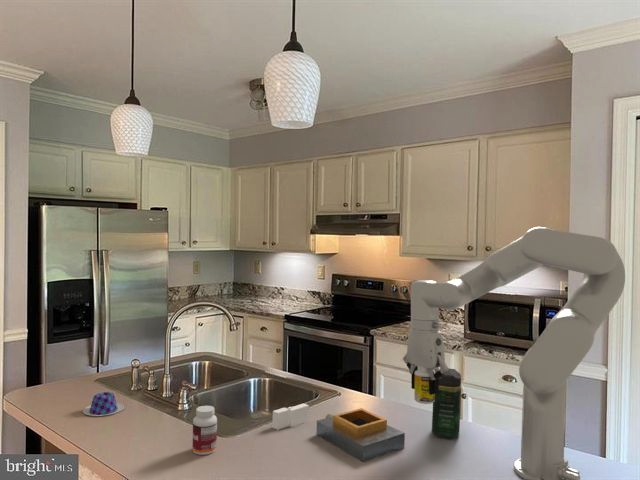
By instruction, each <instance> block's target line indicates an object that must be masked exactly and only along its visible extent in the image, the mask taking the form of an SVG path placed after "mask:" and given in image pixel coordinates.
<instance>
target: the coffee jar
mask: <svg viewBox="0 0 640 480" xmlns="http://www.w3.org/2000/svg"><path fill="white" fill-rule="evenodd" d="M439 370H440V368H439ZM461 401H462V375H461V373H460V372H459V371H457V370H456V369H455V368H450V367H448V371H446V372H445V373H444V374H443V375H442V376H441V378H440V379H439V392H438V393H436V394H435V401H434V402H433V403H432V415H431V417H432V419H431V433H432V434H433V435H434V436H436V437H439V438H441V439H446V440H449V439H457V438H458V437H459V435H460V430H461V429H460V428H461V427H460V426H461V405H462V404H461V403H462V402H461Z"/></svg>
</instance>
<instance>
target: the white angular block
mask: <svg viewBox="0 0 640 480" xmlns="http://www.w3.org/2000/svg"><path fill="white" fill-rule="evenodd" d="M309 415H310V405H308V404H307V403H300V404H297V405H295V406H294V405H293V406H289V407H281V408H279V409H275V410H273V411H272V424H271V426H272V429H275V430H281V429H284V428H287V427H292V428H293V427H295V426H299V425H302V424H304V423H307V422H309V419H310V416H309Z"/></svg>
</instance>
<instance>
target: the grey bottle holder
mask: <svg viewBox="0 0 640 480" xmlns="http://www.w3.org/2000/svg"><path fill="white" fill-rule="evenodd" d="M315 435H316V436H318V437H320V439H323V440H324V441H327V442H328V443H330V444H332V445H334V446H336V448H338V449H340V450H342V451H343V452H345V453H347V454H349V455H350V456H352V457H354V459H355V458H356V459H357V460H359V461H361V462H363V463H364V462H367V461H369V460H373V459H376V458H379V457H381V456H384V455H388V454H390V453H393V452H396V451H399V450H401V449H404V448H405V443H406V442H405V440H406V433H405V432H404V431H401V430H400V429H397V428H395V427H392V426H391V425H389V424H388V420H387V419H386V418H384V417H382V416H379V415H377V414H375V413H373V412H371V411H368V410H367V409H364V408H362V407H361V408H356V409H354V410H350V411H346V412H343V413H337V414H335V415H333V414H331V413H327V414H326V415H325V418H321V419H318V420H316V434H315Z"/></svg>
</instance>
